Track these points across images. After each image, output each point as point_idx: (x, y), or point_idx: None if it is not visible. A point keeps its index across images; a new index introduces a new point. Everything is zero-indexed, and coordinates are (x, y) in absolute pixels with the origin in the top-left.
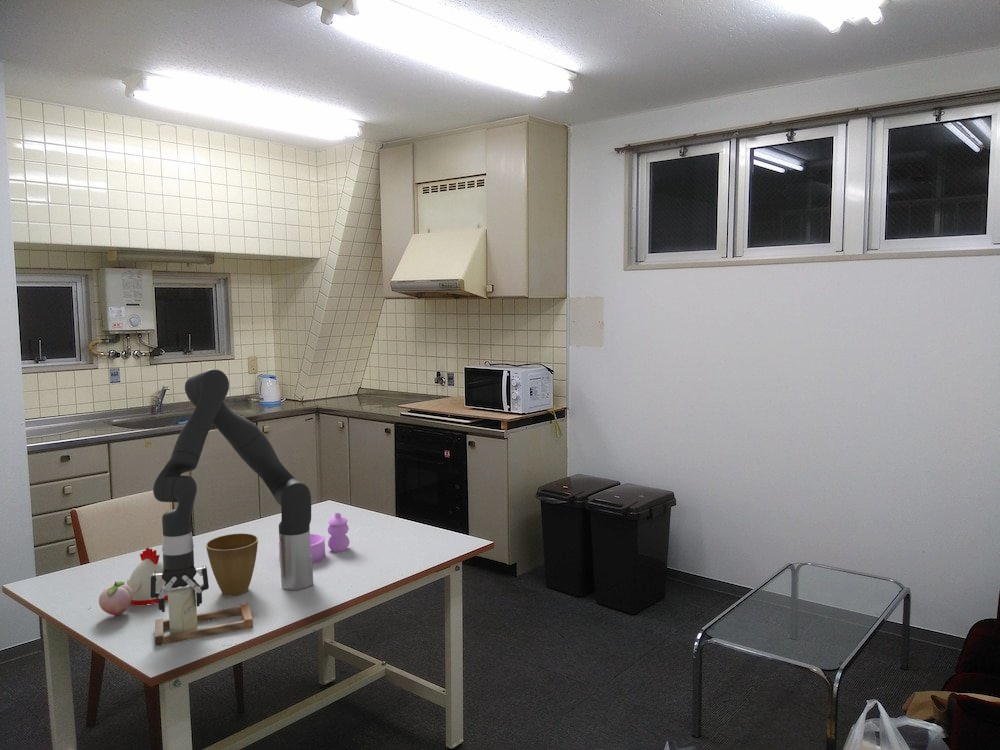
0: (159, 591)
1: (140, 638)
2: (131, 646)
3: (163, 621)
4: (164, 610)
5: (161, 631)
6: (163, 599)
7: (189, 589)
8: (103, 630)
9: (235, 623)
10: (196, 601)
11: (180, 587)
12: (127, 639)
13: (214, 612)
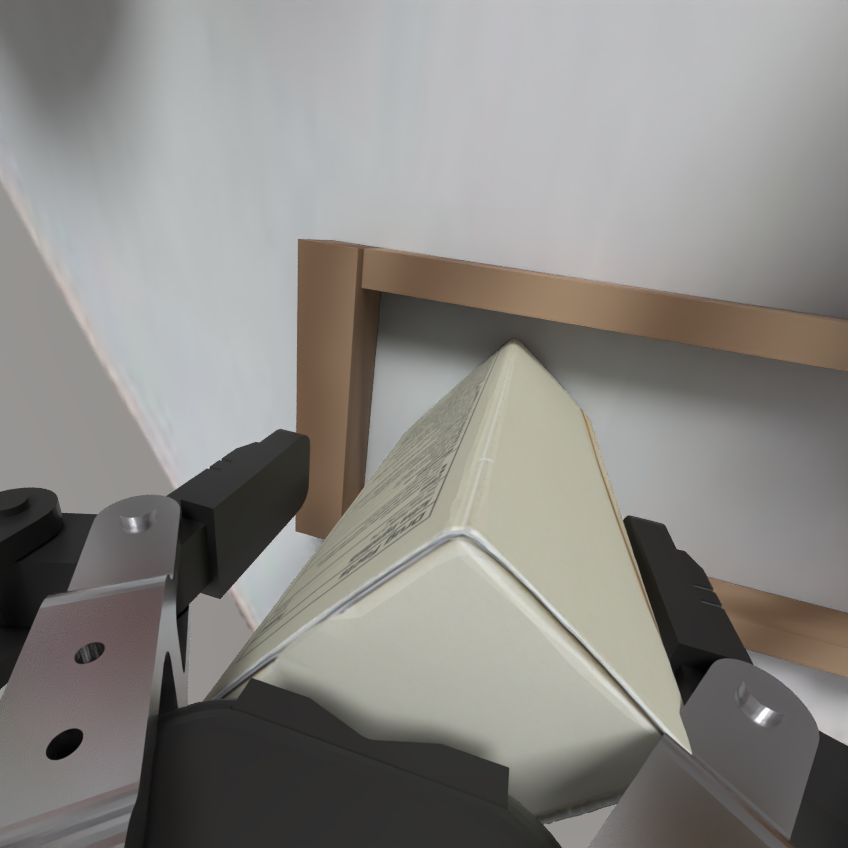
0: (89, 538)
1: (251, 346)
2: (216, 422)
3: (364, 282)
4: (296, 510)
5: (333, 486)
6: (217, 590)
7: (530, 810)
8: (17, 34)
9: (809, 663)
10: (633, 532)
11: (398, 694)
12: (185, 312)
13: (807, 363)
